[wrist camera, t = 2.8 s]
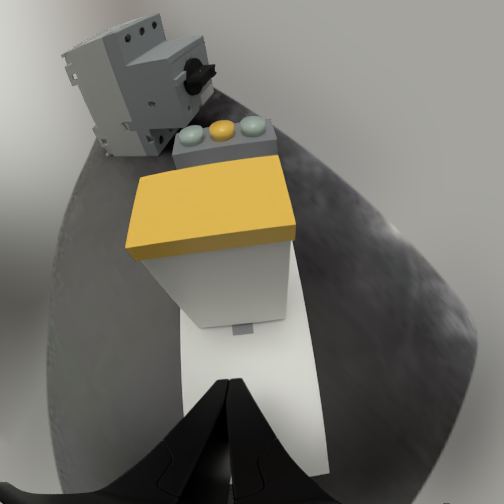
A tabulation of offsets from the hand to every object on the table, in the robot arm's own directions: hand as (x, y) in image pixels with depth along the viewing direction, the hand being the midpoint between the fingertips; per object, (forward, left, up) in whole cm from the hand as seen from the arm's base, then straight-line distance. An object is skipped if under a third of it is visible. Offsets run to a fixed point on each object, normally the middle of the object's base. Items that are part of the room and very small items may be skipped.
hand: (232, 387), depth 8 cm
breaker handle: (+6, 0, -6) cm, 8 cm away
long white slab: (+7, 0, -8) cm, 10 cm away
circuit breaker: (+28, +8, -8) cm, 30 cm away
